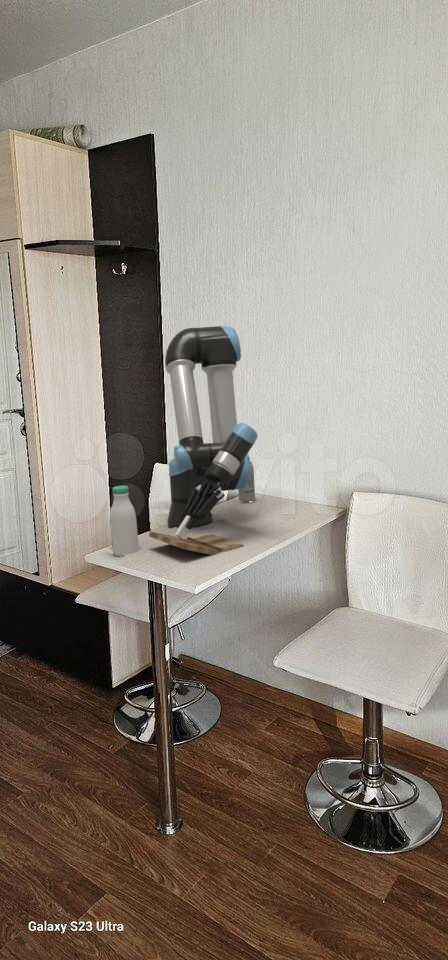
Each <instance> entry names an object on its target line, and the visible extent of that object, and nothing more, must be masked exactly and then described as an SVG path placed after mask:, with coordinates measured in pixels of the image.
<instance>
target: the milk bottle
mask: <svg viewBox="0 0 448 960" xmlns="http://www.w3.org/2000/svg"><path fill="white" fill-rule="evenodd" d="M111 491H112V495H113V501H112V505H111V507H110V512H109V525H110V536H111V537H110V538H111V539H110V540H111V548H112V555H114V556H116V557H125V555H126V554H132V553H136V552H138V551H139V549H140V546H139V544H140V543H139V533H138V524H137V523H138V522H137V513H136V510H135V507H134V506H133V504H132V502H131V500H130V498H129V493H130V492H129V487H128V486H127V485H116V486H114V487H112V490H111Z"/></svg>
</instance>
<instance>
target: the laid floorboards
mask: <svg viewBox="0 0 448 960" xmlns="http://www.w3.org/2000/svg"><path fill="white" fill-rule="evenodd" d="M185 539H188V540H190V541H193V542H196V543H199V544H202V545H205V546H207V547H210V548H213V549H216V550H219V551H221V552H220V554H221V553H222V554H223V553H225V552H228V551H233V550H236V549H240V548H243V547H245V544H243V543H241V542H240V543H239V542H237V541H234V540H231V539H228V538H225V537H221V536H218V535H216V534H212V533H209V532H207V533H206V532H205V533H202V534H199V535H194V536H186V537H185Z"/></svg>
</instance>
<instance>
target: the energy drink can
mask: <svg viewBox="0 0 448 960" xmlns="http://www.w3.org/2000/svg"><path fill="white" fill-rule="evenodd" d="M254 467H255V466H254V464H253V462H252V460H250V478H249V482H248V484H247V486H246V487H245V488H243V489H238V500H239V501H240V502H241V501H242V502H249V501H253V500H254V501H255V500H256V492H255V491H256V489H255V486H256V485H255V468H254Z"/></svg>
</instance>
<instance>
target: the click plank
mask: <svg viewBox="0 0 448 960" xmlns="http://www.w3.org/2000/svg"><path fill="white" fill-rule="evenodd" d="M148 534H149V535H148V537H150V538H153V539H155V540H157V541H161V542H163V543H166V544H169V545H171V546H173V547H176V548H179V549H182V550H187V551H190V552H196V553H201V554H207V555H210V556H214V555H219V554H221V551H219V550H216V549H213V548H210V547H207V546H205V545H202V544H199V543H196V542H193V541H190V540H188V539H186V538H185V539H184V540H182V539H180V538H179V537H177V536H176V535H175V536H174V535H170V534H165V533H161V532H156V531H152V530H151V531H149V533H148Z"/></svg>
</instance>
